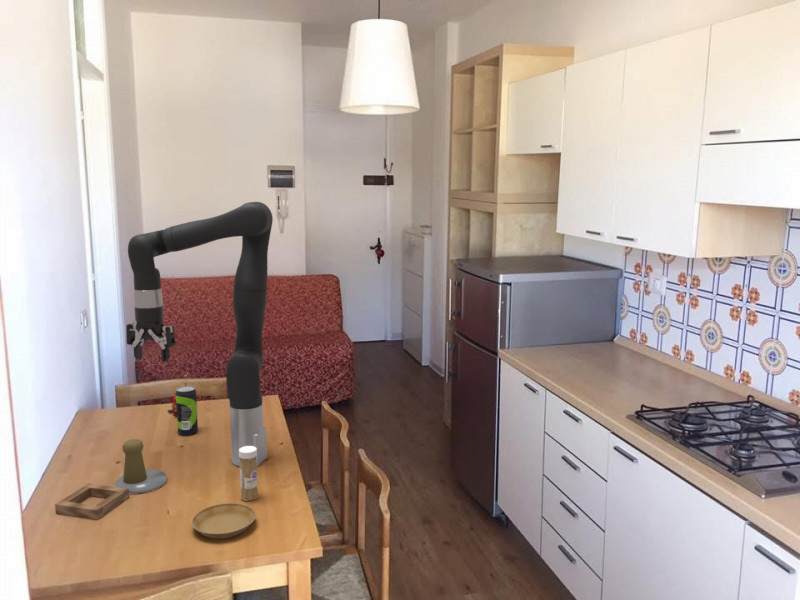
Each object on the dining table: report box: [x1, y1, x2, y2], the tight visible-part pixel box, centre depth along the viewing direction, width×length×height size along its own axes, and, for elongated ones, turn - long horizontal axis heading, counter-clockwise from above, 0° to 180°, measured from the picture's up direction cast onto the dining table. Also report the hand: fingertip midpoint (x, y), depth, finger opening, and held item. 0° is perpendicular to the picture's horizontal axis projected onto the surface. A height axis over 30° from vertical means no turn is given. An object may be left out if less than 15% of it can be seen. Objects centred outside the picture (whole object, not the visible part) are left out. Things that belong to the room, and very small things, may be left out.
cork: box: [122, 438, 147, 484], centre depth 180 cm, size 6×6×11 cm
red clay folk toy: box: [171, 371, 190, 418], centre depth 233 cm, size 8×7×15 cm
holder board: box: [54, 482, 130, 521], centre depth 169 cm, size 12×12×2 cm
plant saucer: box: [191, 502, 257, 540], centre depth 159 cm, size 15×15×3 cm
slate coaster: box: [114, 469, 168, 495], centre depth 181 cm, size 13×13×1 cm
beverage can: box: [175, 385, 199, 437], centre depth 216 cm, size 6×6×15 cm
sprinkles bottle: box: [239, 446, 259, 502], centre depth 172 cm, size 5×5×13 cm
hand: (152, 360), depth 192 cm, fingers open, 8 cm apart
